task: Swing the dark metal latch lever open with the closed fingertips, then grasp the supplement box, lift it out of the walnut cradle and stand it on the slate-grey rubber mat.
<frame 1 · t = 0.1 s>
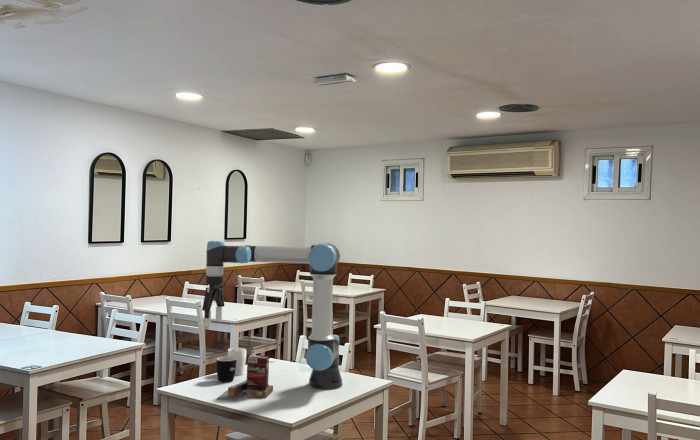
hand: (213, 323, 252), 28 cm above the table, fingers open, 13 cm apart
mug: (227, 380, 263), on the table
slate mat: (231, 395, 238), on the table
cradle: (259, 393, 241), on the table
lever: (242, 387, 242), point 3 cm above the table, hinge at 13.7°
cup: (236, 374, 275), on the table
supplement box: (257, 394, 242), resting in cradle
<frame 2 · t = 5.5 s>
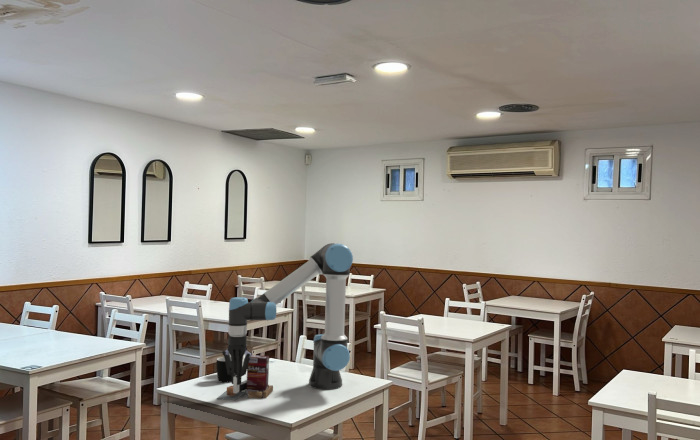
hand: (236, 392, 234), 3 cm above the table, fingers closed
lever: (242, 387, 242), point 3 cm above the table, hinge at 15.8°, touching gripper
everything else where it was.
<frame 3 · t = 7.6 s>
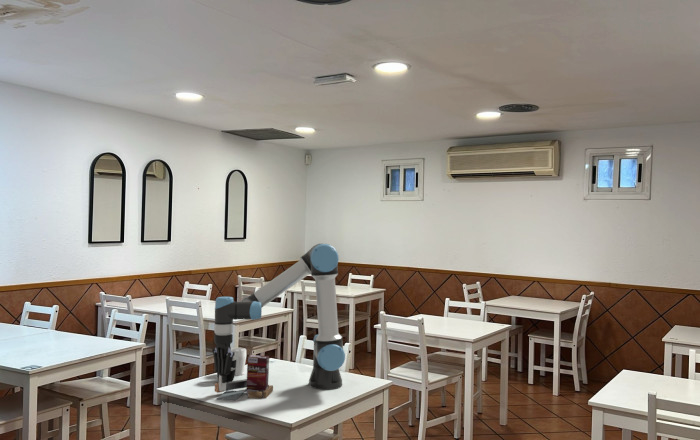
hand: (222, 390, 238), 2 cm above the table, fingers closed
lever: (236, 385, 244), point 3 cm above the table, hinge at 44.1°, touching gripper
everything else where it was.
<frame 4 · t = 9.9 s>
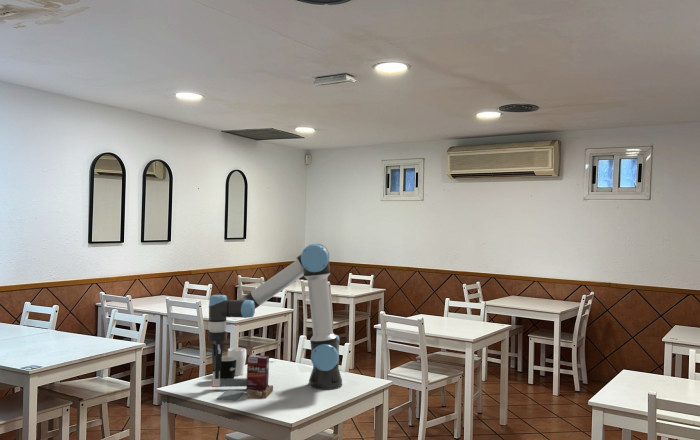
hand: (216, 385, 244), 2 cm above the table, fingers closed
lever: (234, 383, 248), point 3 cm above the table, hinge at 75.1°, touching gripper
everything else where it was.
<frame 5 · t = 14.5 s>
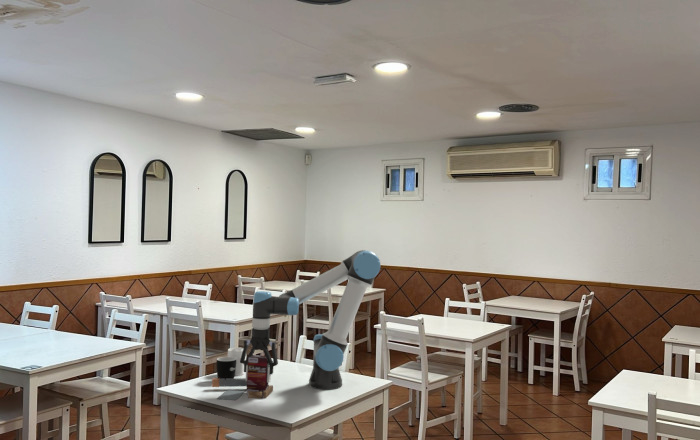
hand: (258, 380, 242), 5 cm above the table, fingers open, 9 cm apart
lever: (234, 383, 248), point 3 cm above the table, hinge at 75.7°
supplement box: (257, 394, 242), resting in cradle, touching gripper
everything else where it was.
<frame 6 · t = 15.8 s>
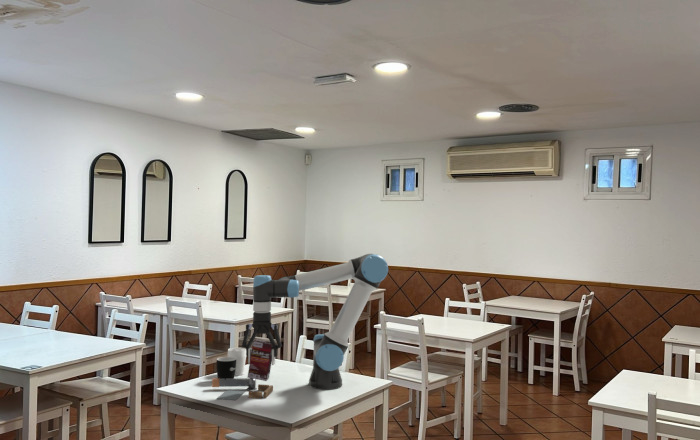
hand: (261, 364, 242), 13 cm above the table, fingers closed on supplement box, 10 cm apart
supplement box: (258, 378, 242), point 6 cm above the table, touching gripper
everything else where it was.
when the fingers open (7 cm above the table, at t = 21.2 s): supplement box stays where it is, resting on slate mat.
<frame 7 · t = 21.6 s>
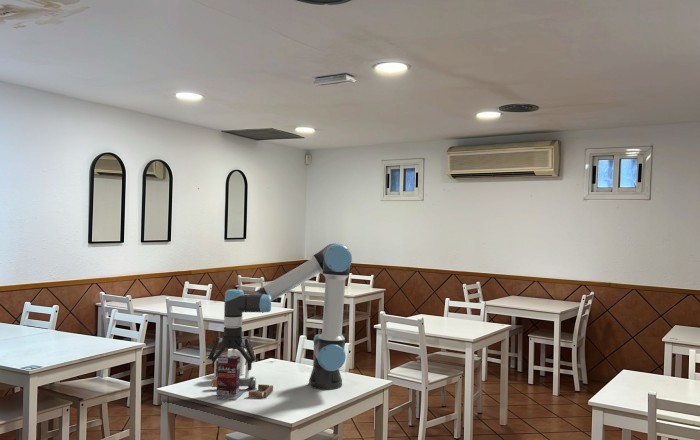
hand: (231, 377, 238), 8 cm above the table, fingers open, 13 cm apart
supplement box: (227, 395, 238), resting on slate mat
everything else where it was.
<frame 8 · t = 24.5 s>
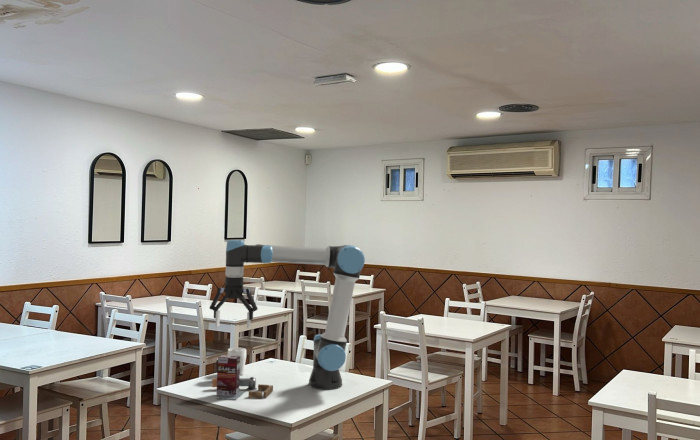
hand: (233, 327, 239), 29 cm above the table, fingers open, 13 cm apart
nothing on the table moved.
at the end: lever at +76° (first picture: +14°); supplement box inside the target area (1.3 cm from its centre), resting on slate mat; supplement box tilted 0° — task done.
